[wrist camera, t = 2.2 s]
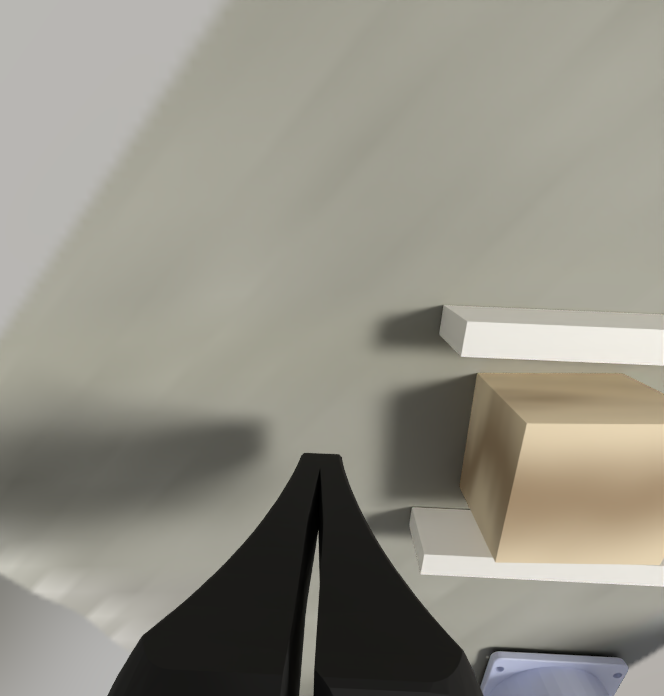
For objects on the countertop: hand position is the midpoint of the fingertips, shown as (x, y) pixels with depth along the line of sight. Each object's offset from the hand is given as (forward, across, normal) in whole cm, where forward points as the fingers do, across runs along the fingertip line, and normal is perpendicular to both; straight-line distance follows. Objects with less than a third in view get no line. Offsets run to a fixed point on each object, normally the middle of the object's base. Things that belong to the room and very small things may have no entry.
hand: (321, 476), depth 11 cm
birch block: (+3, -10, 0) cm, 10 cm away
